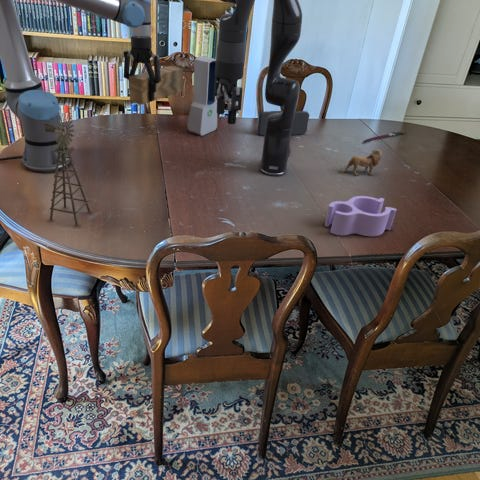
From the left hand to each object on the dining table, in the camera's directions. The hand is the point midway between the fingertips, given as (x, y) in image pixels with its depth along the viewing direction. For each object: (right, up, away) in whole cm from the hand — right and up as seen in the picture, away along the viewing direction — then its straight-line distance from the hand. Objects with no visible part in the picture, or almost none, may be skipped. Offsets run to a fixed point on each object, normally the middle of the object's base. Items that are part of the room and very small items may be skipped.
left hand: (142, 98), depth 183 cm
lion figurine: (+84, -30, -5) cm, 90 cm away
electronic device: (+22, -9, +17) cm, 29 cm away
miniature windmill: (-10, -49, -50) cm, 71 cm away
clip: (+74, -51, -40) cm, 98 cm away
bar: (+4, +3, +7) cm, 9 cm away
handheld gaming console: (+57, -9, +23) cm, 62 cm away
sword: (+105, -9, +31) cm, 110 cm away
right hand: (+34, -21, -51) cm, 65 cm away
